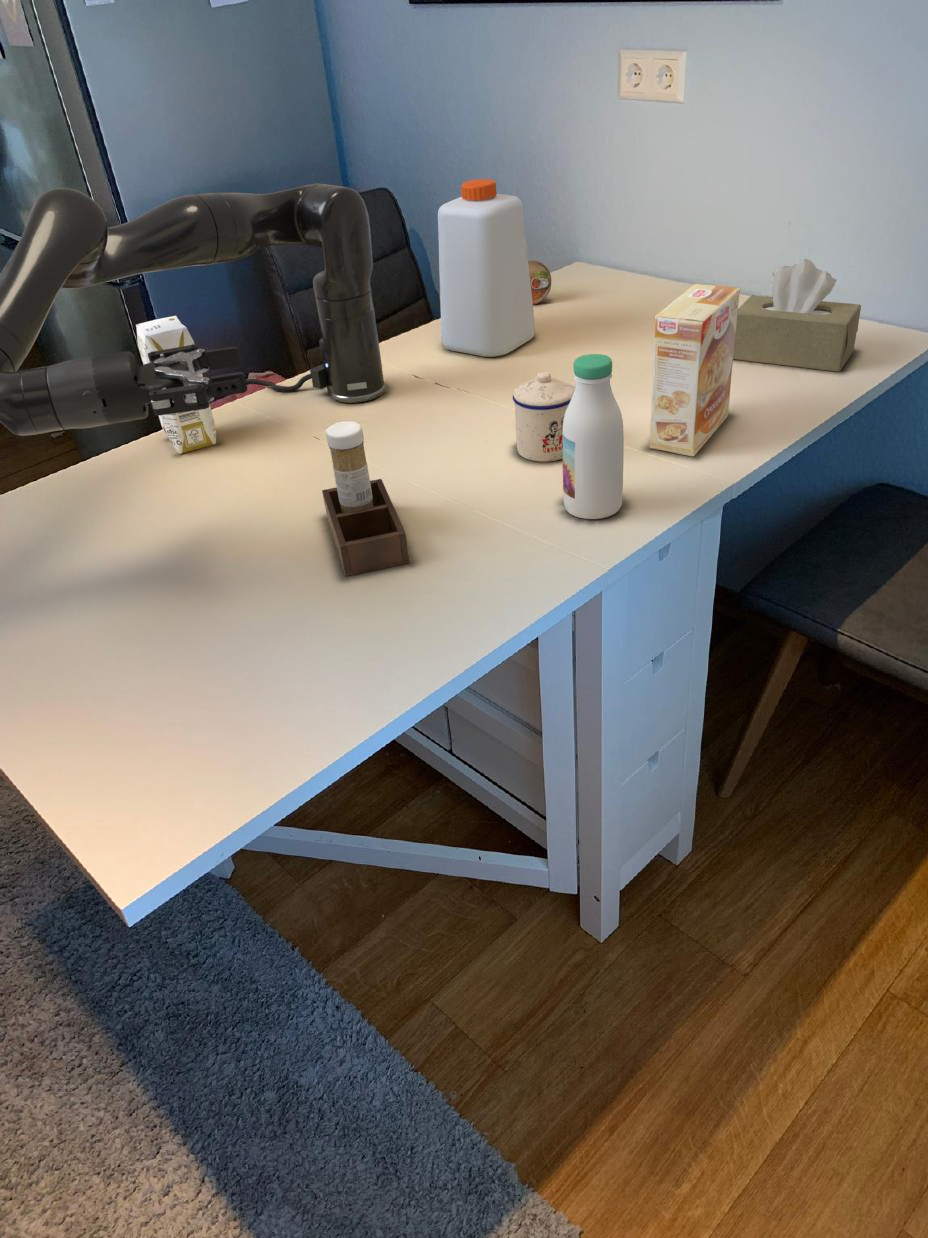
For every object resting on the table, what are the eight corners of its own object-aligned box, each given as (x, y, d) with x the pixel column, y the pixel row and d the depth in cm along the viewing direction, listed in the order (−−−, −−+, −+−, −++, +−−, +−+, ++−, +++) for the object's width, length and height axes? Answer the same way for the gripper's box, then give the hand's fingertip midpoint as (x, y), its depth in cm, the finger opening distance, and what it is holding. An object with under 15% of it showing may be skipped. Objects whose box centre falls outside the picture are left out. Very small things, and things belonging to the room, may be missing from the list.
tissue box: (855, 351, 158) (871, 255, 149) (841, 372, 152) (857, 273, 142) (745, 339, 167) (754, 247, 157) (727, 358, 160) (736, 264, 151)
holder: (345, 576, 114) (339, 546, 111) (327, 518, 126) (321, 489, 124) (409, 562, 115) (405, 533, 113) (385, 506, 128) (381, 478, 125)
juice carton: (175, 457, 146) (141, 338, 134) (163, 438, 152) (129, 323, 141) (222, 445, 148) (192, 326, 137) (208, 426, 154) (178, 312, 143)
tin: (479, 306, 194) (476, 264, 189) (481, 301, 196) (478, 260, 191) (551, 304, 191) (550, 262, 186) (552, 299, 194) (551, 257, 189)
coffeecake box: (694, 457, 132) (704, 320, 120) (647, 449, 135) (652, 314, 124) (730, 416, 142) (742, 286, 130) (685, 409, 145) (693, 281, 134)
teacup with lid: (548, 469, 132) (546, 391, 126) (502, 452, 138) (498, 376, 131) (602, 439, 139) (602, 363, 132) (556, 424, 144) (554, 351, 138)
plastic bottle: (479, 324, 185) (468, 170, 168) (544, 334, 177) (539, 174, 161) (433, 349, 175) (416, 189, 159) (499, 361, 167) (489, 194, 151)
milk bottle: (629, 496, 124) (633, 350, 113) (612, 524, 119) (614, 374, 107) (574, 488, 127) (573, 345, 116) (555, 516, 122) (551, 368, 110)
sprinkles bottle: (369, 509, 126) (354, 416, 118) (381, 524, 122) (367, 429, 114) (337, 519, 124) (320, 425, 116) (349, 534, 121) (332, 438, 113)
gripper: (109, 398, 113) (243, 376, 116) (106, 448, 102) (255, 422, 105) (90, 338, 108) (231, 317, 111) (85, 382, 97) (241, 358, 100)
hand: (242, 368), depth 108 cm, fingers open, 8 cm apart
